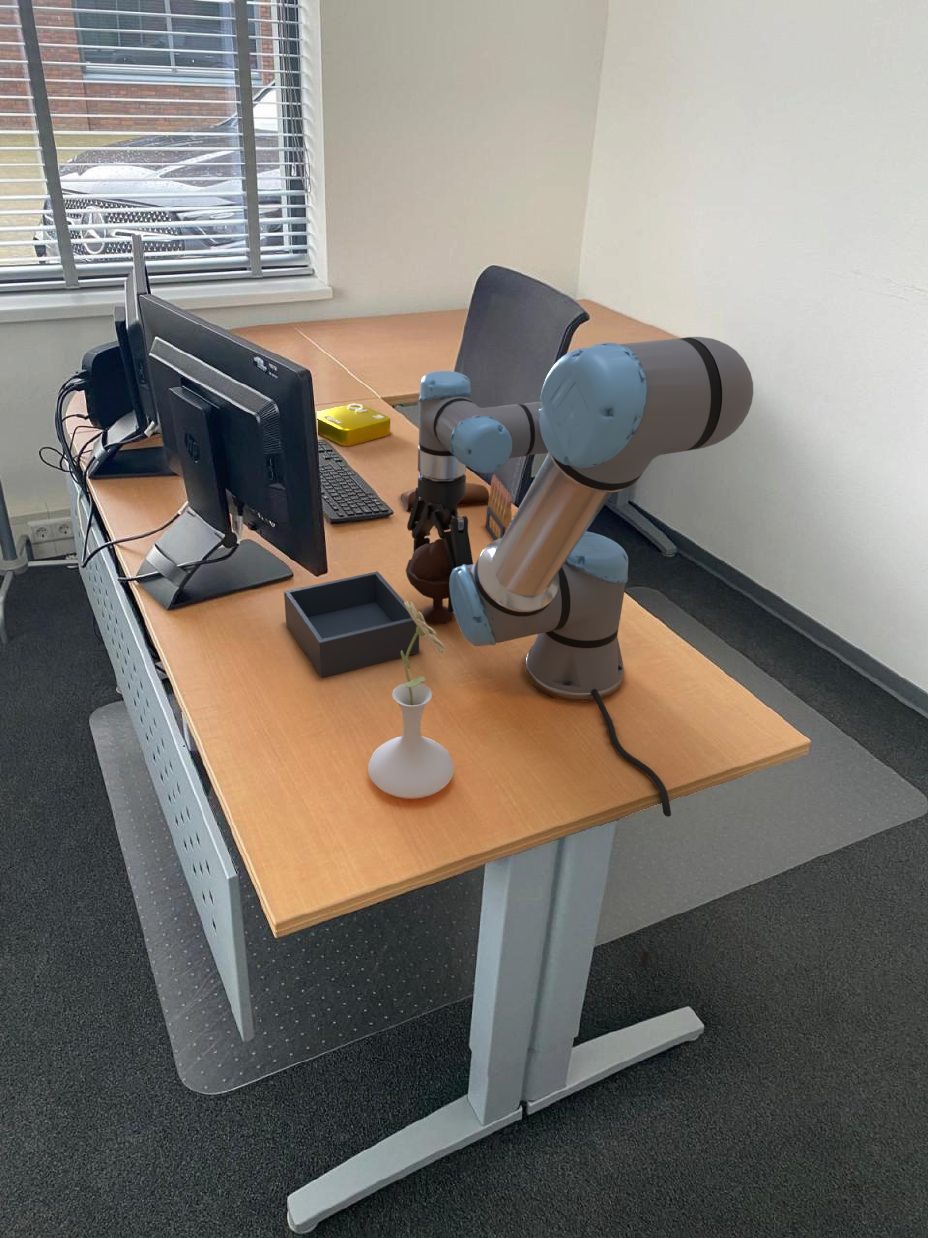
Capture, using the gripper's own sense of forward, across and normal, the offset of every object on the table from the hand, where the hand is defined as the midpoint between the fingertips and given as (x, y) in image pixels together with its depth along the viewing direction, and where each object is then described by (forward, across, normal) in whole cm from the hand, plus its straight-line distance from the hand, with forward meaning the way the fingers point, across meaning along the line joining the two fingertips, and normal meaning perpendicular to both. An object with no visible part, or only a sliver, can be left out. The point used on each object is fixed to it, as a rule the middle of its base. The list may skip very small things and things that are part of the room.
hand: (438, 591), depth 153 cm
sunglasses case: (+5, +41, -22) cm, 47 cm away
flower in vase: (+5, -34, +21) cm, 40 cm away
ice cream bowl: (+5, 0, 0) cm, 5 cm away
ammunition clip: (+5, +21, -24) cm, 32 cm away
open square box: (+5, -1, +16) cm, 17 cm away
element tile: (+5, +86, -19) cm, 88 cm away
